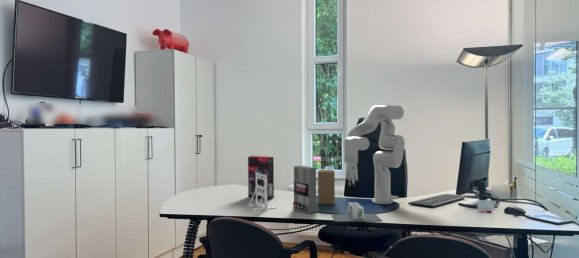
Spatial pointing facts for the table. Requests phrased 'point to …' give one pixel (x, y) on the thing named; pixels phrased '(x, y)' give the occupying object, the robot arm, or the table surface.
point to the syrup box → (356, 210)
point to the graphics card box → (262, 167)
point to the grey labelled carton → (305, 189)
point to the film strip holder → (261, 195)
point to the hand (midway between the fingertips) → (351, 192)
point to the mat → (349, 219)
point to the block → (326, 187)
